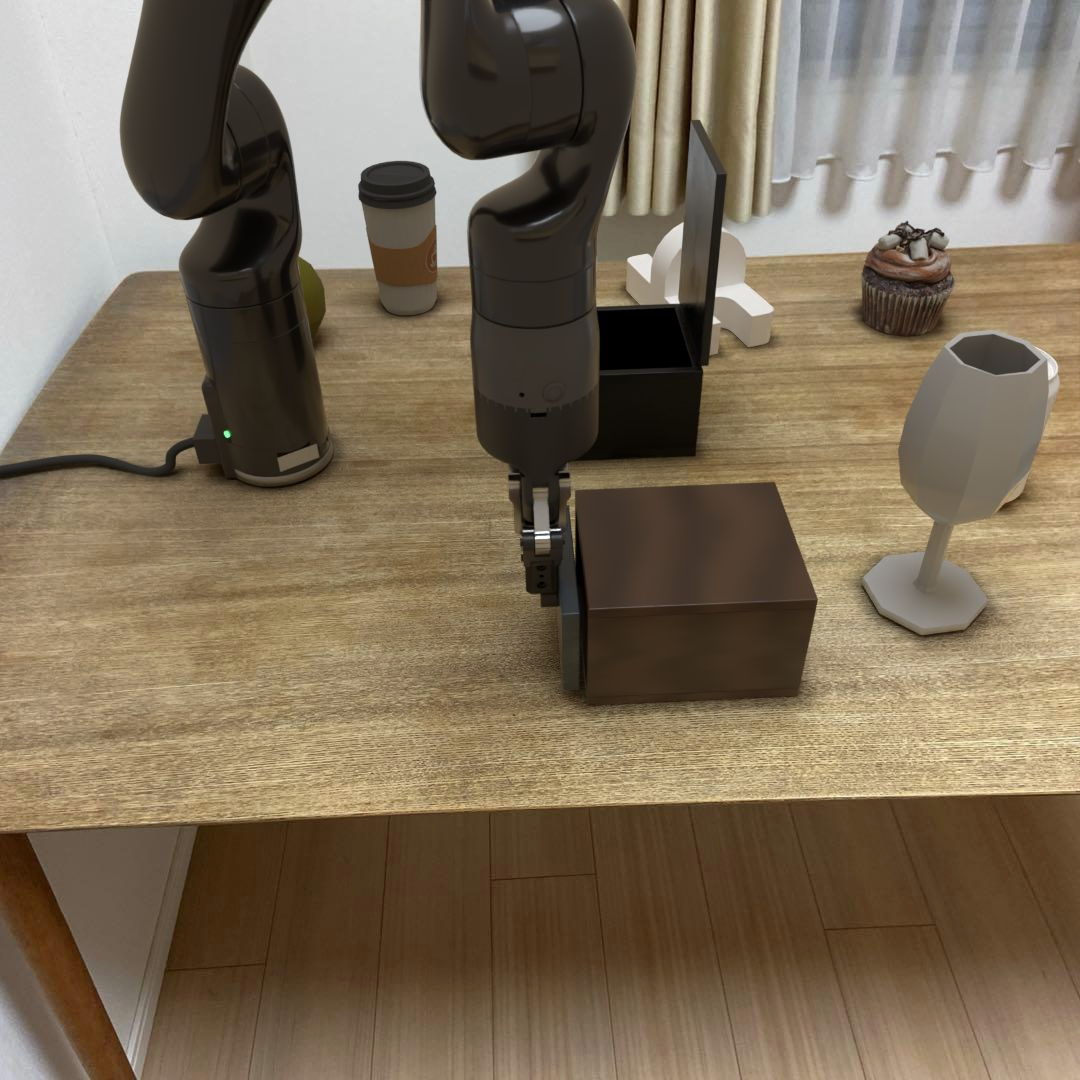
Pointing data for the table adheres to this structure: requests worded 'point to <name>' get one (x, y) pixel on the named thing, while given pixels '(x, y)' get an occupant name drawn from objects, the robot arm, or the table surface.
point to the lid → (701, 239)
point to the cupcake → (906, 281)
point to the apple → (312, 295)
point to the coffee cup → (401, 233)
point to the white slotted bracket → (732, 298)
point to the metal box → (646, 384)
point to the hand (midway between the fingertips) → (541, 586)
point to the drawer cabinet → (690, 593)
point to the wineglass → (961, 469)
